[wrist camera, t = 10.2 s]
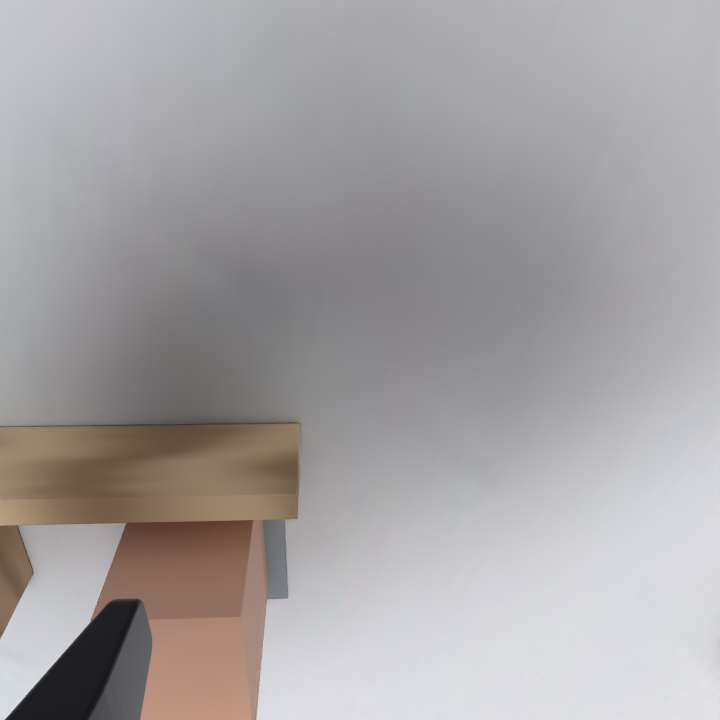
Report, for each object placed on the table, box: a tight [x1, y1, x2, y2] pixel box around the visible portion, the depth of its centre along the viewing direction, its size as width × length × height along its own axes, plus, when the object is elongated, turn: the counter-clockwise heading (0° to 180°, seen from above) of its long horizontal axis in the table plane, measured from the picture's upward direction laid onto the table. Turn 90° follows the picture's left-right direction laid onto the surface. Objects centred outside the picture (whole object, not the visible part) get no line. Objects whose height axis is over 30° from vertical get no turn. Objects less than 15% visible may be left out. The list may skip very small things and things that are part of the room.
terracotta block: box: [90, 520, 268, 720], centre depth 21 cm, size 6×4×6 cm, turn 0°
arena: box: [0, 423, 301, 638], centre depth 21 cm, size 12×9×4 cm
